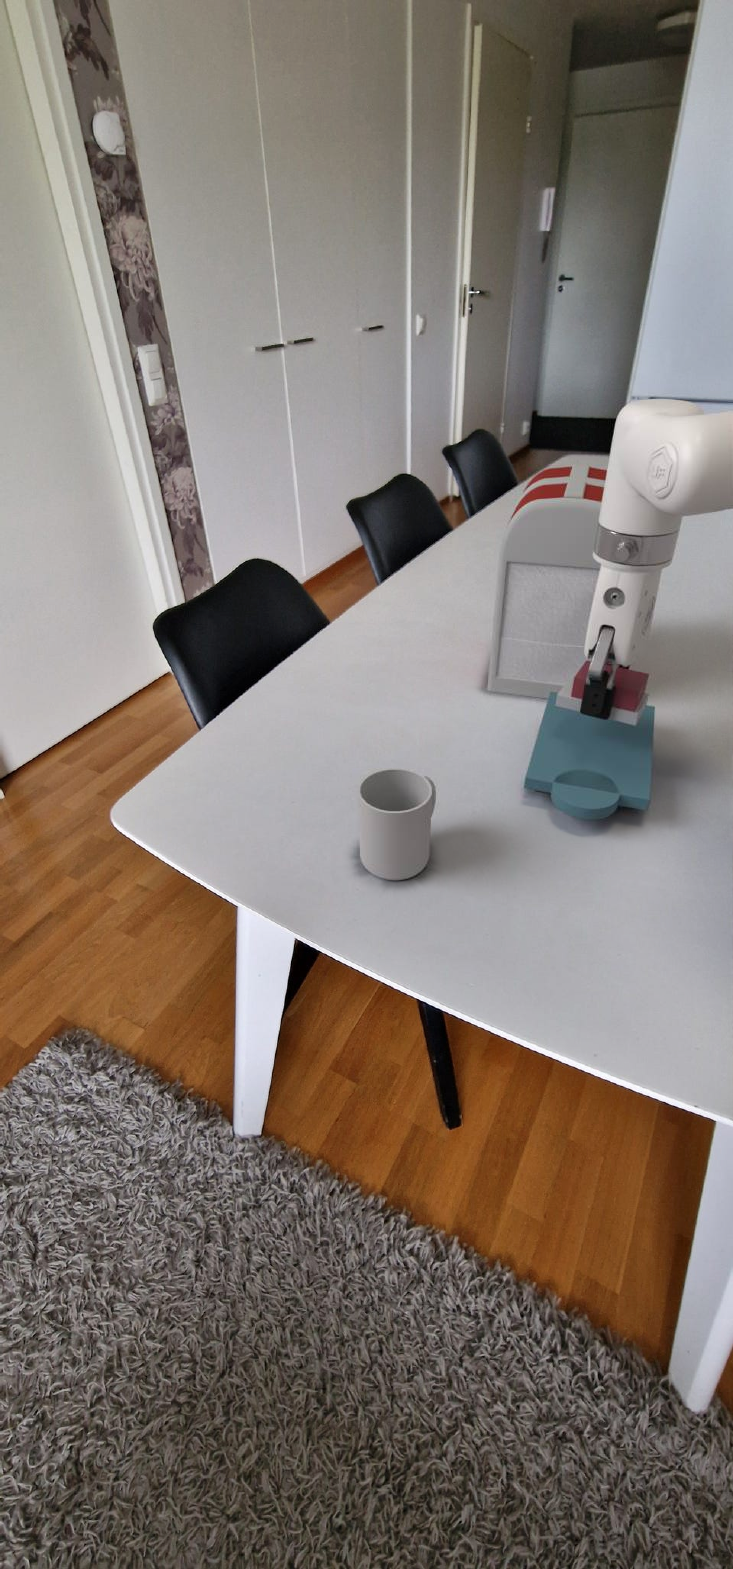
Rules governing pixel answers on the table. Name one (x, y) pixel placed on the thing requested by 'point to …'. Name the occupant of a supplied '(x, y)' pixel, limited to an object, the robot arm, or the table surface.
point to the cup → (395, 822)
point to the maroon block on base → (626, 698)
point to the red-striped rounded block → (546, 582)
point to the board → (592, 762)
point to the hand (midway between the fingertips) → (601, 702)
